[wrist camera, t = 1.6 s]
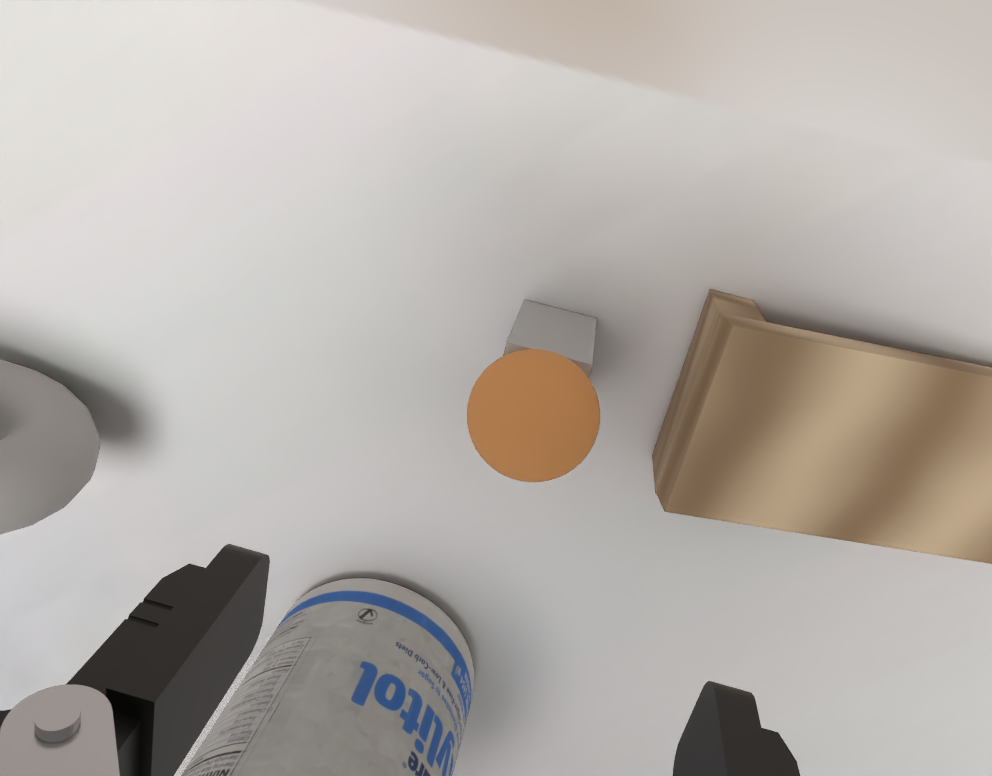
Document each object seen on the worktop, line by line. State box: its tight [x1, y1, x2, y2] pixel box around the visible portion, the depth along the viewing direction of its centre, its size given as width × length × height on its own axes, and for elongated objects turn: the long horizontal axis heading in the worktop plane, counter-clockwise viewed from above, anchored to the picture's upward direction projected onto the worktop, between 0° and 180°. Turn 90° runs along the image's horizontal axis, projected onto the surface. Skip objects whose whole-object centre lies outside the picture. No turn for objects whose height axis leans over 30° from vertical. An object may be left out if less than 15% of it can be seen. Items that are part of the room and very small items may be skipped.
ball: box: [467, 349, 600, 482], centre depth 23 cm, size 4×4×4 cm
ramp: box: [652, 290, 992, 564], centre depth 27 cm, size 14×7×4 cm, turn 78°
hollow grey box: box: [503, 300, 597, 378], centre depth 27 cm, size 3×3×5 cm
